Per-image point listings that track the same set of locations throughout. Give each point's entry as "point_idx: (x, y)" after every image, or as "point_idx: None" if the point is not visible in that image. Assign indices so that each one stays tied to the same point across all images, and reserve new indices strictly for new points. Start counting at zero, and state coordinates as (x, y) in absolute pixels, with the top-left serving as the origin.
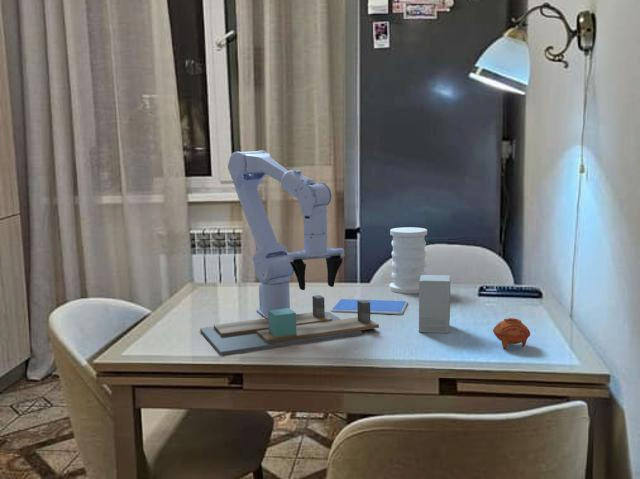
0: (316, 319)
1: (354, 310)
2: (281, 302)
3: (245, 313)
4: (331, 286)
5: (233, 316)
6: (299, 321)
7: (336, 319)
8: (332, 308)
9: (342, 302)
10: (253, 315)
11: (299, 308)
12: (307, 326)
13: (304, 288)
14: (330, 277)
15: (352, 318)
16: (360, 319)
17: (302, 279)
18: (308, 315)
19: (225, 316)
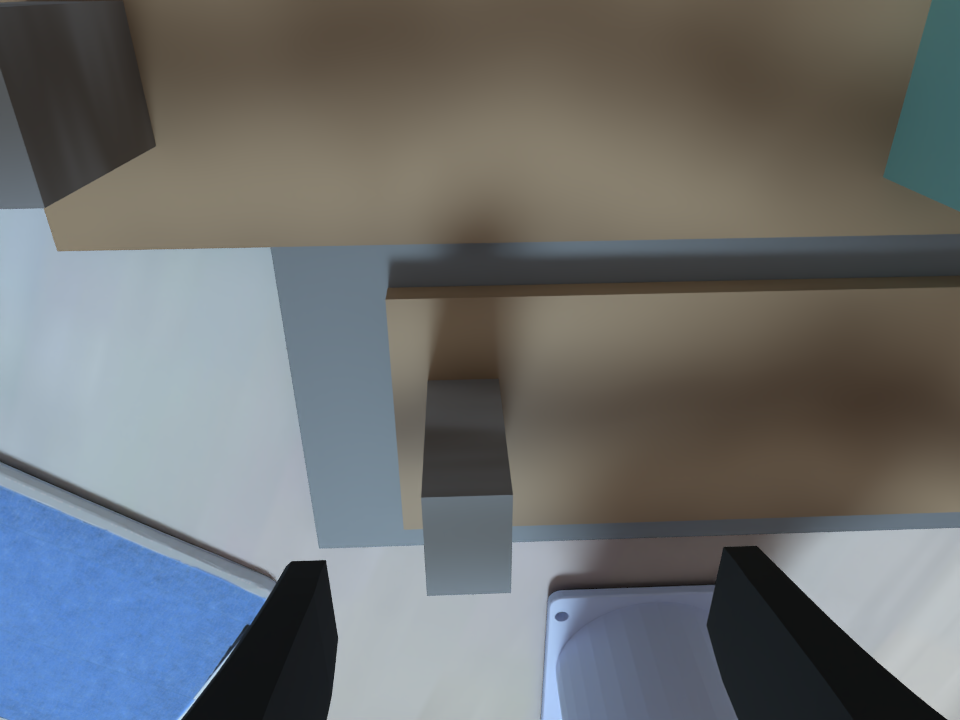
0: (524, 341)
1: (103, 528)
2: (675, 681)
3: None
4: (322, 562)
5: None
6: (683, 343)
7: (325, 348)
8: None
9: (149, 705)
10: None
11: (457, 701)
12: (703, 164)
13: (742, 557)
14: (300, 701)
15: (192, 235)
16: (126, 75)
17: (857, 660)
18: (534, 467)
19: (923, 699)
